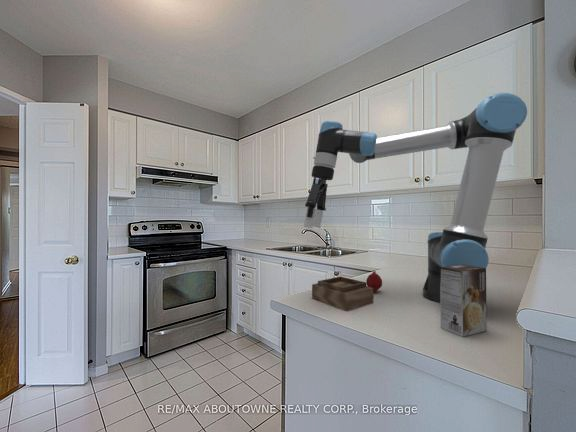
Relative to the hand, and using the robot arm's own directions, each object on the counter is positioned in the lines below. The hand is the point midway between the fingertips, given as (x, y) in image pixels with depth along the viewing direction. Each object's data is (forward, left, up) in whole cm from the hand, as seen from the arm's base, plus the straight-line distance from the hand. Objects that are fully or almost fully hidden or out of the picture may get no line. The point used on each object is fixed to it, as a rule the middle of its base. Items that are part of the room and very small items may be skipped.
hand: (312, 227), depth 96 cm
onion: (-7, -25, -25) cm, 36 cm away
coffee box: (-42, -14, -25) cm, 51 cm away
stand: (-7, -7, -25) cm, 27 cm away
